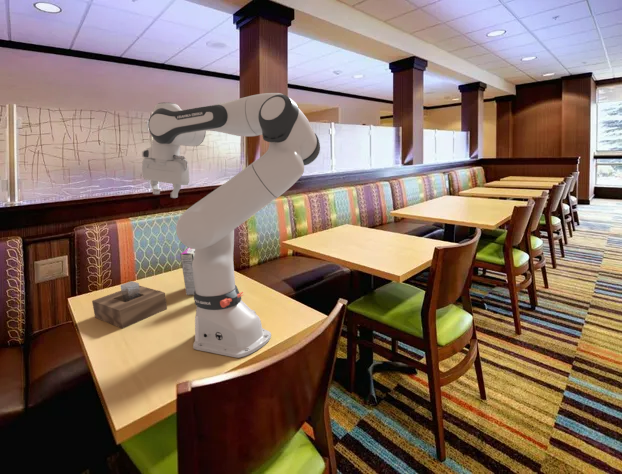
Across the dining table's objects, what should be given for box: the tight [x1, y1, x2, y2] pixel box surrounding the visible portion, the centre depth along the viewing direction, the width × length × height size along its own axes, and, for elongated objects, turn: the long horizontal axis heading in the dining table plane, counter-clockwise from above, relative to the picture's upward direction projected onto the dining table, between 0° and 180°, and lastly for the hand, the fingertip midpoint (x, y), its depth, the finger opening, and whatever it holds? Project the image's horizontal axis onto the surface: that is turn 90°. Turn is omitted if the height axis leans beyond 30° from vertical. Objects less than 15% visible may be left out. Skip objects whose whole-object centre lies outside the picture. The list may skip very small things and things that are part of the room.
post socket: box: [91, 285, 168, 329], centre depth 123 cm, size 16×16×6 cm
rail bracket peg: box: [119, 280, 141, 302], centre depth 123 cm, size 4×4×10 cm
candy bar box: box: [180, 247, 195, 296], centre depth 140 cm, size 11×5×16 cm, turn 179°
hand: (165, 195), depth 124 cm, fingers open, 8 cm apart
